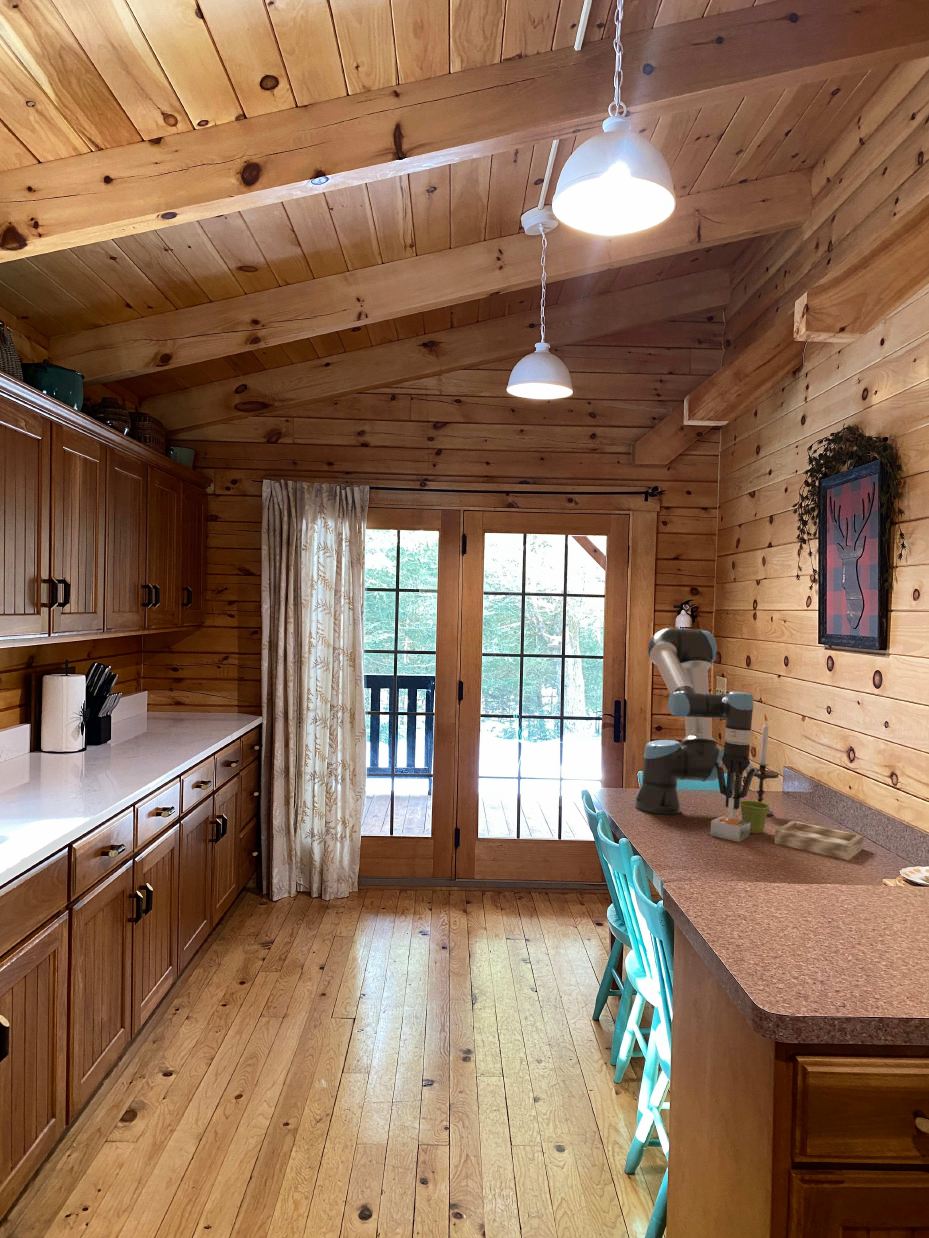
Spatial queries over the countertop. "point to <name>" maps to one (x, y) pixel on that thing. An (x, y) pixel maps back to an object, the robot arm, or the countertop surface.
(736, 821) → the button
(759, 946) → the countertop surface
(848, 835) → the tray
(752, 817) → the plant pot
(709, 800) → the countertop surface
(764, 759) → the candlestick
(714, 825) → the button housing
